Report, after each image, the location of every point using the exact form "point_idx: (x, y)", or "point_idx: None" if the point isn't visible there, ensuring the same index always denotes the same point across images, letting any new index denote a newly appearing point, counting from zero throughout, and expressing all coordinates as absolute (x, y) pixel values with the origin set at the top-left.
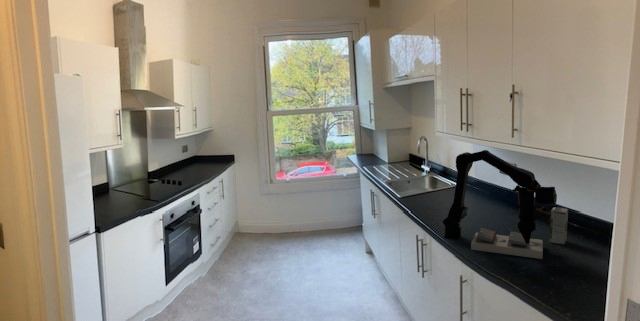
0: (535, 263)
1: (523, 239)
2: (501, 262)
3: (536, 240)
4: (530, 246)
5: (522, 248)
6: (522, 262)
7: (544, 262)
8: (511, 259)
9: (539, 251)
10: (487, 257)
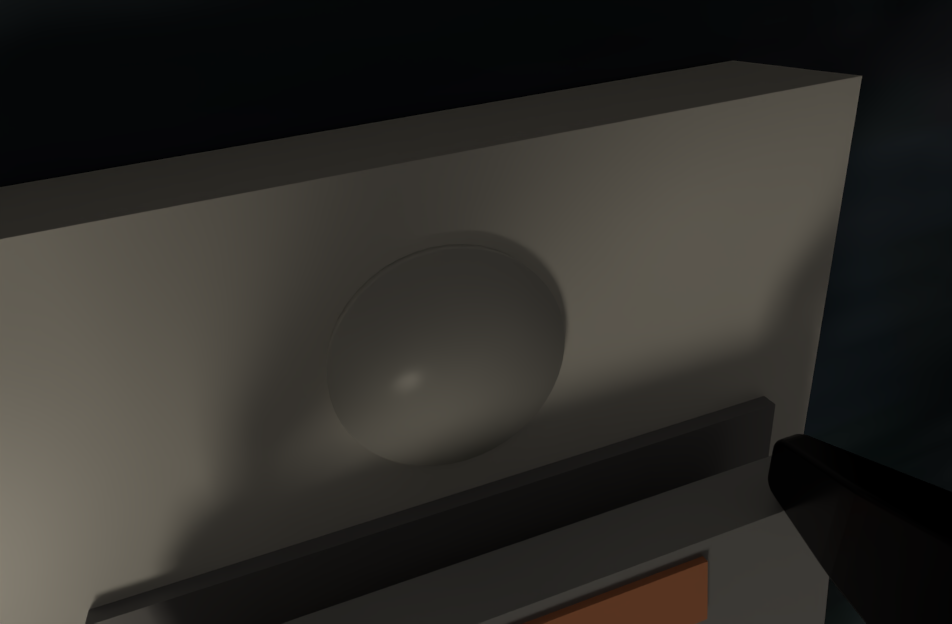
0: (925, 132)
1: (672, 602)
2: (942, 464)
3: (20, 409)
4: (616, 376)
5: (772, 444)
6: (915, 292)
7: (868, 2)
8: (846, 424)
9: (842, 145)
10: (841, 604)
